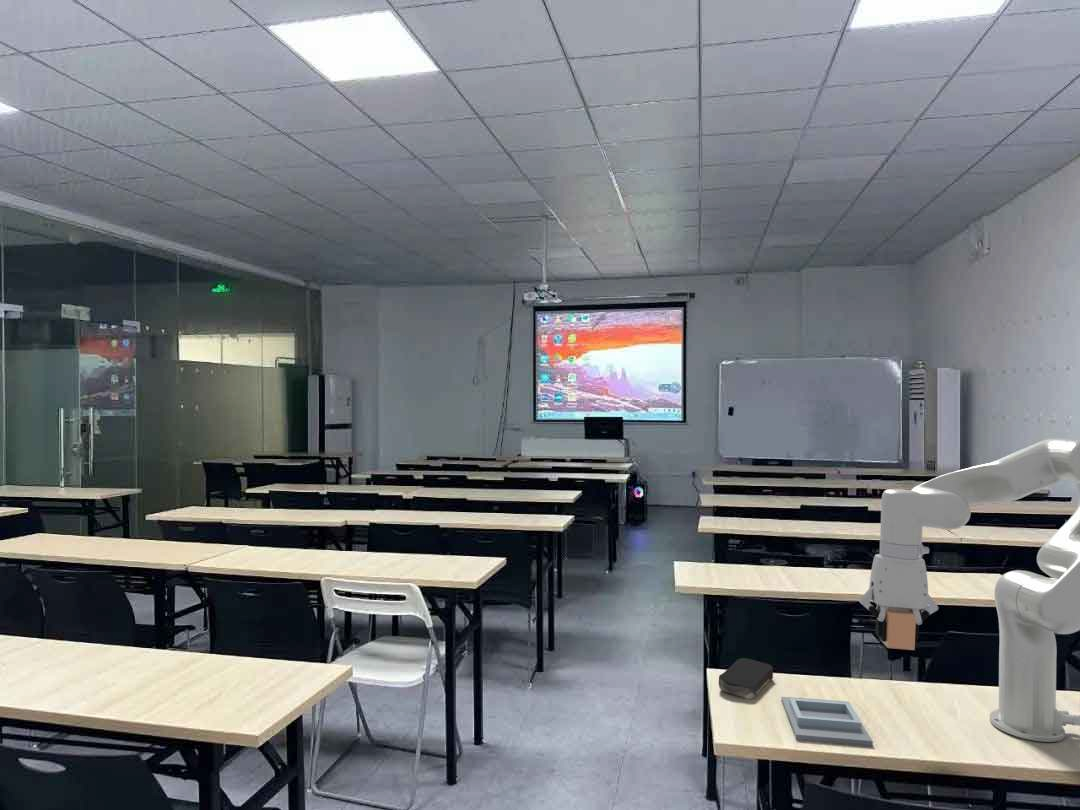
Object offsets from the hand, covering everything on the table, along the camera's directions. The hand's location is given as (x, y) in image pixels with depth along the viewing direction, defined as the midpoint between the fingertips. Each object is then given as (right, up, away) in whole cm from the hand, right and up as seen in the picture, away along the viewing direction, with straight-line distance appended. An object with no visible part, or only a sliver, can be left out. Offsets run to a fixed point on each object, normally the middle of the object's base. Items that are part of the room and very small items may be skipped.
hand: (896, 639), depth 142 cm
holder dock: (-14, -18, +3) cm, 23 cm away
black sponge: (-24, -18, +22) cm, 37 cm away
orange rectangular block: (0, -1, 0) cm, 1 cm away
